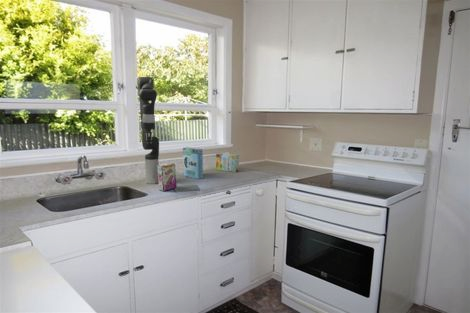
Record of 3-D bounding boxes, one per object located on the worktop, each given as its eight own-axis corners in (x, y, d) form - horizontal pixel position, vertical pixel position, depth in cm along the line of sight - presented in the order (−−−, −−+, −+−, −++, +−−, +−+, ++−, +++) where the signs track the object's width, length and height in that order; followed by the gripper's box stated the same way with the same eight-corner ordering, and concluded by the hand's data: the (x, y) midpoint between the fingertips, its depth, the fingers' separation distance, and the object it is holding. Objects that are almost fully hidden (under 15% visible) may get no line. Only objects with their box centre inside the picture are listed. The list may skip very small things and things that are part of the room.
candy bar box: (163, 191, 195) (161, 166, 193) (158, 190, 198) (156, 165, 196) (177, 187, 204) (175, 163, 201) (172, 186, 207) (170, 162, 204)
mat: (173, 186, 210) (173, 185, 209) (196, 185, 214) (196, 184, 214) (175, 191, 195) (175, 190, 195) (199, 190, 199) (199, 189, 199)
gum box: (203, 178, 237) (203, 149, 234) (197, 179, 234) (197, 149, 231) (188, 174, 251) (187, 147, 248) (183, 175, 248) (182, 147, 245)
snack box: (239, 171, 268) (239, 154, 266) (235, 172, 263) (235, 155, 261) (219, 169, 279) (219, 152, 277) (215, 170, 274) (215, 153, 272)
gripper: (142, 121, 197) (143, 147, 199) (142, 122, 183) (143, 150, 186) (154, 121, 199) (155, 147, 201) (155, 122, 185) (155, 150, 188)
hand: (149, 148), depth 193 cm, fingers open, 5 cm apart
